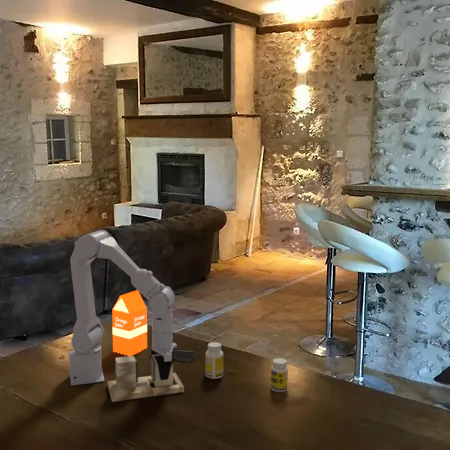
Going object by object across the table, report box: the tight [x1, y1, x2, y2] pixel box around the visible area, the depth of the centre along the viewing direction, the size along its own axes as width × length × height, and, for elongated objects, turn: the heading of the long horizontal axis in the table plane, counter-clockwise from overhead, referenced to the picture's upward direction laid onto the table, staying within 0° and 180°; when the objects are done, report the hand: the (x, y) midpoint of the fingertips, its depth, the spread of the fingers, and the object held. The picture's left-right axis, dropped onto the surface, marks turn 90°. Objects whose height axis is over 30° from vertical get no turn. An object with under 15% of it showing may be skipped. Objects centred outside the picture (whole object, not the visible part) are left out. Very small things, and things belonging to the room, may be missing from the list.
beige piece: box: [107, 355, 185, 402], centre depth 154 cm, size 20×10×10 cm, turn 109°
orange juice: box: [111, 289, 148, 357], centre depth 183 cm, size 8×9×20 cm
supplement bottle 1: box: [205, 341, 224, 380], centre depth 164 cm, size 5×5×10 cm
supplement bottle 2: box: [270, 357, 289, 393], centre depth 155 cm, size 5×5×8 cm
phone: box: [149, 348, 199, 363], centre depth 180 cm, size 8×1×15 cm
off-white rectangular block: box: [150, 354, 174, 388], centre depth 156 cm, size 6×4×8 cm
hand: (162, 376), depth 156 cm, fingers closed on off-white rectangular block, 4 cm apart
